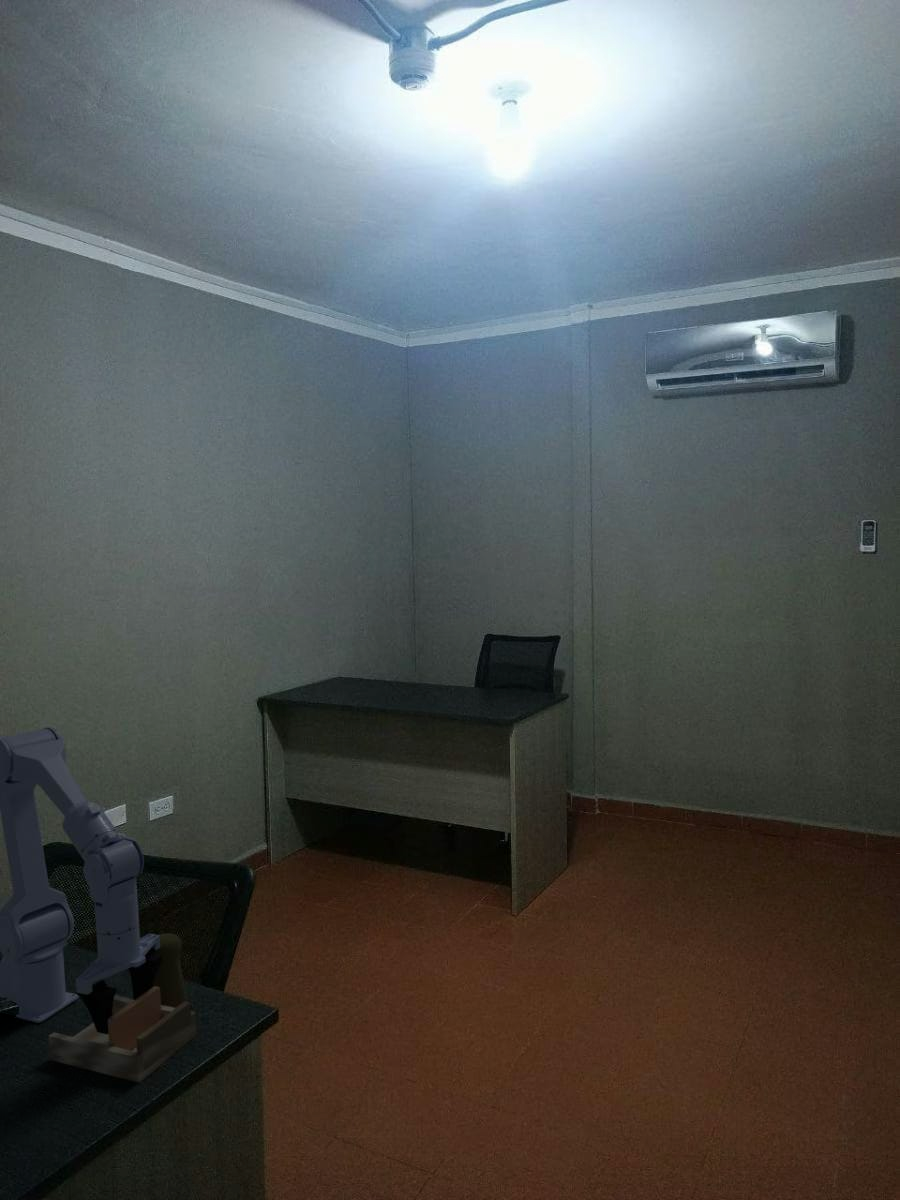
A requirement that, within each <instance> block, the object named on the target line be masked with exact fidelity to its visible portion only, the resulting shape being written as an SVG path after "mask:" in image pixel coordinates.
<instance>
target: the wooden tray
mask: <svg viewBox="0 0 900 1200" xmlns="http://www.w3.org/2000/svg"><path fill="white" fill-rule="evenodd" d="M133 1001H134V998H130V997H125V996H120V995H116V994H115V996H114V1000H113V1007H112V1016H113V1015H114V1014H115V1013H117V1012H118V1011H120V1010H121V1009H123V1008H124V1007H125V1006H127V1005H128V1004H130V1003H131V1002H133ZM191 1008H192V1007H191V1002H189V1001H187V1002H186V1001H184V1002H183V1003H182V1004H180V1005H179V1006H178V1007H177V1008H173V1007H169V1006H164V1005H161V1012H162V1019H161V1020H159V1021H158V1022H157V1023H155V1024H154V1025H153V1026H151V1027H150V1028H149V1029H148V1030H146V1031H145V1032H144V1033H142V1034H141V1035H140V1036H138V1037H137V1038H136V1043H137V1046H135V1047H134V1048H133V1049H131V1050H126V1049H121V1048H117V1047H113V1046H109V1034H103V1033H99V1032H97V1030H96V1028H95V1025H94V1022H92V1023H91V1024H90V1025H88V1026H87V1027H85V1028H84V1029H82V1030H81V1031H80V1032H78V1033H77V1034H75V1035H74V1036H72V1035H67V1034H63V1033H58V1032H55V1031H54V1032H52V1033H51V1034H49V1035H48V1047H49V1050H48V1051H49V1060H50V1061H52V1062H57V1063H60V1064H65V1065H69V1066H72V1067H77V1068H81V1069H84V1070H89V1071H93V1072H96V1073H99V1074H104V1075H107V1076H111V1077H116V1078H118V1079H119V1078H120V1079H124V1080H127V1081H131V1082H135V1083H138V1082H139V1083H141V1082H142V1081H144V1080H145V1079H146V1078H147V1077H149V1075H151V1074H152V1073H153V1072H154V1071H155V1070H156V1069H158V1068H159V1067H160V1066H161V1065H162V1064H164V1063H165V1062H166V1061H167V1060H169V1057H170V1058H171V1057H173V1055H174V1053H175V1054H176V1053H177V1052H178V1051H179V1050H181V1049H182V1048H183V1047H185V1045H186V1044H188V1043H189V1042H191V1040H193V1039H194V1038H195V1037H196V1036H198V1034H197V1032H198V1031H197V1018H196V1016H197V1015H196V1012H195V1011H192V1009H191ZM187 1042H188V1043H187ZM181 1047H182V1048H181ZM180 1048H181V1049H180ZM177 1050H178V1051H177ZM176 1051H177V1052H176ZM145 1077H146V1078H145Z"/></svg>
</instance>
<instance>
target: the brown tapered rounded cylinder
mask: <svg viewBox="0 0 900 1200" xmlns="http://www.w3.org/2000/svg"><path fill="white" fill-rule="evenodd" d="M158 935H159V936H160V948H159V949H157V950H155V952H158V953H161V954H162V956H163V961H162V962H161V964H160V966H159V968H158V971H157V973H156V976H155V979H154V983H153V987H154V986H157V987H160V996H161V1005H164V1006H169V1007H173V1008H177V1007H178V1006H179V1005H180V1004H182V1003H183V1002H184V1001H186V1002H188V996H187V992H186V987H185V982H184V977H183V972H182V966H181V962H180V958H179V956H180V954H181V951H182V941H181V938H180V937H179V936H178V935H177V934H175V933H161V934H158ZM153 987H152V988H153Z"/></svg>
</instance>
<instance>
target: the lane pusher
mask: <svg viewBox="0 0 900 1200" xmlns="http://www.w3.org/2000/svg"><path fill="white" fill-rule="evenodd" d="M161 1019H162V1012H161V996H160V987H157V986H154V987H153V988H151V989H150V990H148V991H147V992H145V993H144V994H143V995H141V996H140V997H138V998H137V999H135V1000H134V1001H133V1002H131V1003H130V1004H128V1005H127V1006H125V1007H124V1008H123V1009H121V1010H120V1011H118V1012H117V1013H115V1014H114V1015H113V1016H111V1017H110V1018H108V1032H109V1046H113V1047H117V1048H121V1049H126V1050H131V1049H133V1048H134V1047H135V1046H137V1043H136V1038H137V1037H138V1036H140V1035H141V1034H142V1033H144V1032H145V1031H146V1030H148V1029H149V1028H150V1027H151V1026H153V1025H154V1024H155V1023H157V1022H158V1021H159V1020H161Z"/></svg>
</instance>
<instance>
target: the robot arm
mask: <svg viewBox="0 0 900 1200" xmlns="http://www.w3.org/2000/svg"><path fill="white" fill-rule="evenodd" d="M66 749H67V748H66V744H65V742H64V740H63V737H62V735H61V734H60V732H59V731H57V729H55V728H54V727H52V726H47V727H43V728H42V729H37V730H32V731H31V730H30V731H27V732H23V733H19V734H18V733H17V734H12V735H8V736H4V737H3V736H2V737H0V816H1V817H0V818H1V824H2V830H3V835H4V843H5V844H4V845H5V849H6V855H7V860H8V861H7V863H8V868H9V873H10V874H9V875H10V879H11V880H10V881H11V887H12V892H13V894H12V896H11V897H10V898H9V900H8V901H7V902H6V903H5V904H4V905H3V907H2V908H1V909H0V953H1V955H2V956H3V957H2V958H1V960H0V997H2V998H7V999H8V1000H11V1001H13V1002H15V1003H16V1004H17V1005H18V1006H19V1014H17V1015H16V1017H18V1018H17V1019H20V1018H21V1019H22V1020H25V1021H30V1022H33V1023H37V1024H39V1023H42V1022H44V1021H45V1020H47V1019H49V1018H50V1017H52V1016H53V1015H55V1014H56V1013H58V1012H60V1011H61V1010H63V1009H64V1008H65V1007H67V1006H69V1005H70V1004H72V1003H73V1002H75V1001H77V1000H78V999H80V1000H81V1001H82V1002H83V1003H84V1005H85V1006H86V1009H87V1010H88V1013H89V1014H90V1016H91V1019H92V1021H93V1022H92V1023H94V1025H95V1028H96V1030H97V1032H99V1033H103V1034H109V1032H108V1018H110V1017H111V1016H112V1007H113V1000H114V996H115V995H116V993H117V988H116V987H112V986H111V987H110V986H108V983H107V982H106V980H107V979H109V978H111V977H112V976H114V975H116V974H117V973H120V972H122V971H125V970H127V969H128V972H129V976H130V980H131V985H132V995H133V999H134V1000H135V999H137V998H138V997H140V996H141V995H143V994H144V993H145V992H147V991H148V990H150V989H151V988H152V987H153V983H154V979H155V976H156V973H157V971H158V968H159V966H160V964H161V962H162V961H163V956H162V954H161V953H158V952H155V950H157V949H159V948H160V936H159V935H160V934H155V933H148V934H146V935H144V936H142V937H140V936H141V934H140V923H139V922H140V920H139V904H138V889H137V888H138V887H137V886H138V885H137V878H136V877H138V876H140V875H141V874H142V873H143V871H144V868H145V858H144V854H143V851H142V848H141V846H140V844H139V843H138V841H137V840H136V839H135V838H134V837H132V836H128V835H126V834H125V832H124V833H123V832H118V830H117V828H116V827H115V825H114V824H113V823H112V821H111V820H110V818H109V817H108V816H107V815H106V813H105V812H104V810H103V809H102V808H101V805H99V804H98V803H97V802H92V801H87V799H86V798H85V796H84V795H83V792H82V791H81V789H80V787H79V785H78V784H77V782H76V780H75V779H74V777H73V776H74V775H72V773H71V771H70V769H69V767H68V765H67V764H66V758H67V757H66V755H67V751H66ZM37 785H38V786H39V788H41V790H42V791H43V792H44V793H45V795H46V796H47V797H48V798H49V799H50V801H51V802H52V803H53V804H54V805H55V806H56V808H57V809H58V810H59V812H60V813H62V815H63V816H64V818H63V821H62V825H61V826H62V829H63V831H64V832H65V834H66V836H67V837H68V838H69V841H70V843H72V845H73V847H74V848H75V850H76V851H77V852H78V853H79V855H80V856H81V858H82V860H83V861H84V864H83V865H84V866H82V873H83V876H84V879H85V882H86V883H87V885H88V890H89V892H88V893H89V896H90V899H91V900H92V901H93V902H94V915H95V916H94V917H95V931H96V932H95V933H96V943H97V944H96V945H97V958H96V959H95V960H94V961H93V962H92V963H91V965H89V966H88V968H87V969H86V970H85V971H84V972H83V973H82V974H81V975H80V976H78V977H76V978H75V993H72V992H67V991H66V977H65V976H66V975H65V964H64V963H65V962H64V961H65V960H64V950H63V949H64V948H65V947H68V946H67V945H68V942H67V941H68V939H70V938H71V937H72V934H73V933H74V929H75V920H74V915H73V912H72V910H71V909H70V908H69V907H70V906H69V904H68V900H67V897H66V896H67V895H66V894H65V893H64V892H62V891H60V890H58V889H55V888H52V887H50V883H49V878H48V877H49V876H48V872H47V865H46V864H47V863H46V860H45V859H46V858H45V854H44V846H43V841H42V835H41V828H40V823H39V816H38V815H39V814H38V811H37V804H36V803H37V802H36V798H35V792H34V791H35V788H36V787H37ZM16 1017H15V1018H16Z"/></svg>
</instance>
